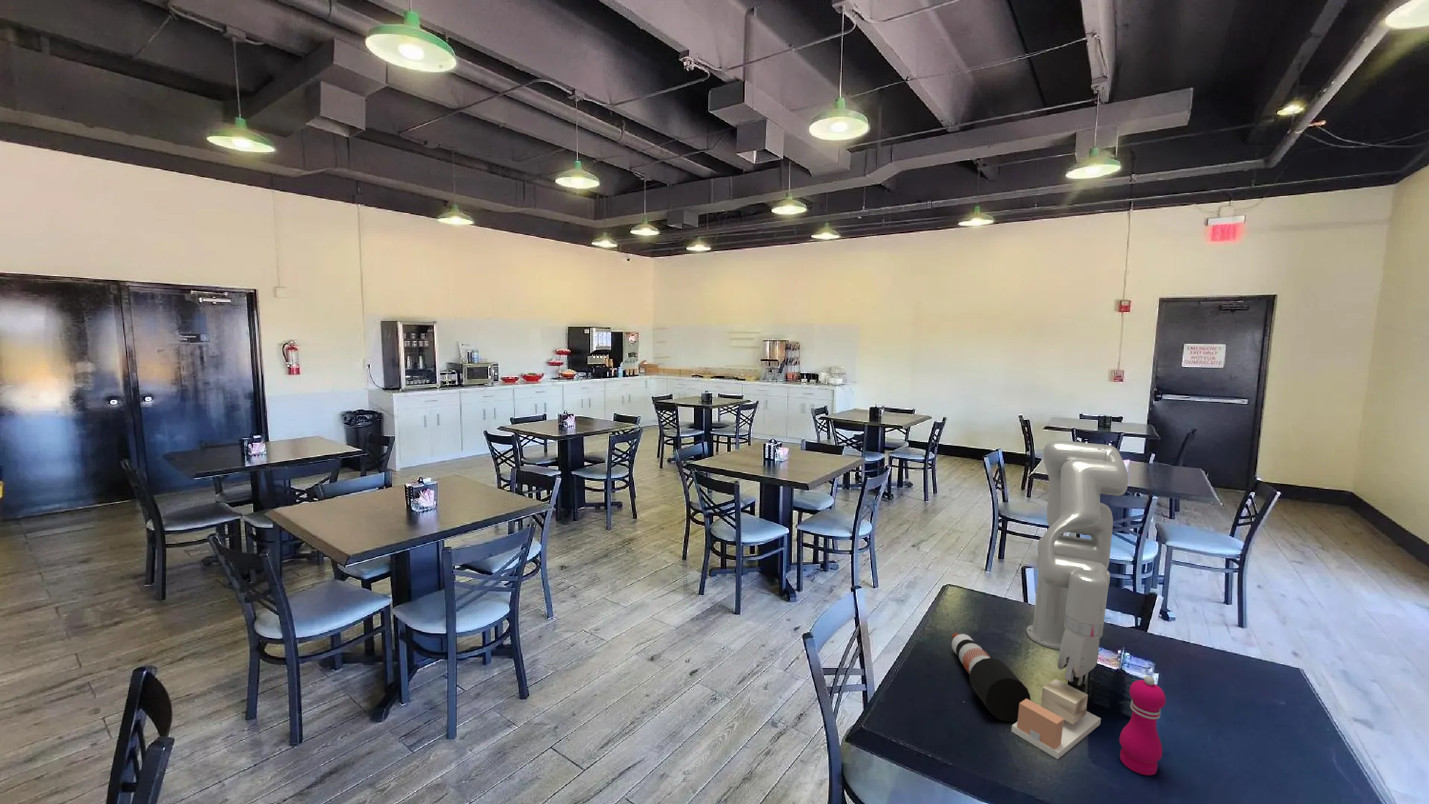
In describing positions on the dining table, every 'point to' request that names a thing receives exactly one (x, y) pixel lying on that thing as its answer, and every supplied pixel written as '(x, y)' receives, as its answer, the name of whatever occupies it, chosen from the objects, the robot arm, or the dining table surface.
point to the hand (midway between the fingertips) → (1075, 697)
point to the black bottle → (990, 679)
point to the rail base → (1066, 734)
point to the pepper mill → (1143, 728)
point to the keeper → (1064, 701)
